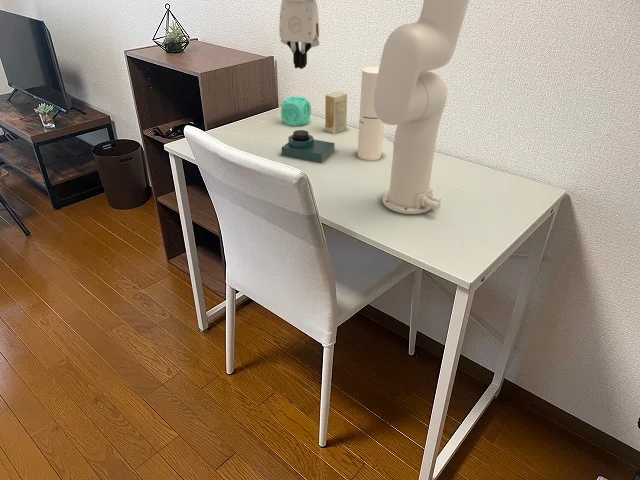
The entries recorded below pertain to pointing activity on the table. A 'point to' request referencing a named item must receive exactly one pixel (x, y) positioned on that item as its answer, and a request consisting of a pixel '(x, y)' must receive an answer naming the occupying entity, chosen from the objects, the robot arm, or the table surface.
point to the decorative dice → (296, 111)
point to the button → (300, 135)
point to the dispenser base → (308, 149)
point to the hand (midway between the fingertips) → (300, 67)
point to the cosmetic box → (335, 112)
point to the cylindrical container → (369, 118)
